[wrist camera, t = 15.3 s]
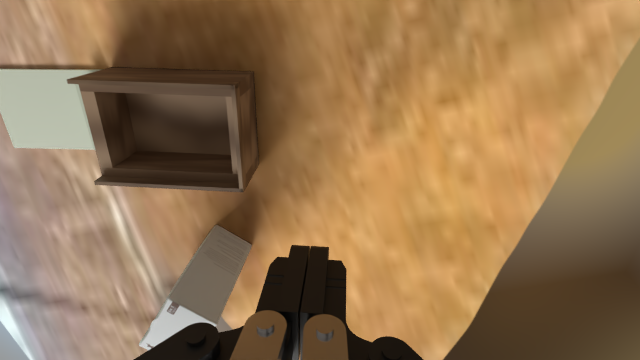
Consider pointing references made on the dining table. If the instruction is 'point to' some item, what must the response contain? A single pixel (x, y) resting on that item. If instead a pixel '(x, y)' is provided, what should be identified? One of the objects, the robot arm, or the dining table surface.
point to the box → (172, 127)
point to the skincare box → (201, 286)
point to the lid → (44, 108)
